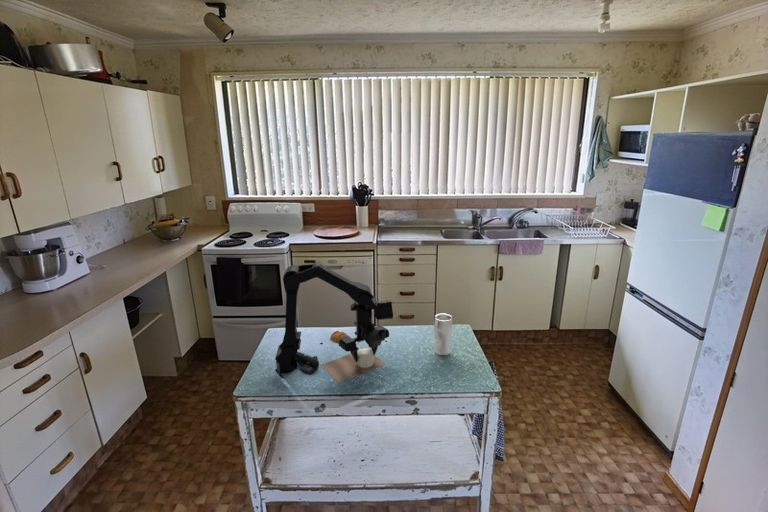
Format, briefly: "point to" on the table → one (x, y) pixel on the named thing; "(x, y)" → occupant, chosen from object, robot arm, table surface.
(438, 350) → the white cylindrical vase
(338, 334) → the pastry
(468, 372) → the table surface
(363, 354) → the cap
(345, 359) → the board
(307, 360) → the can opener
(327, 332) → the table surface
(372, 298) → the robot arm
